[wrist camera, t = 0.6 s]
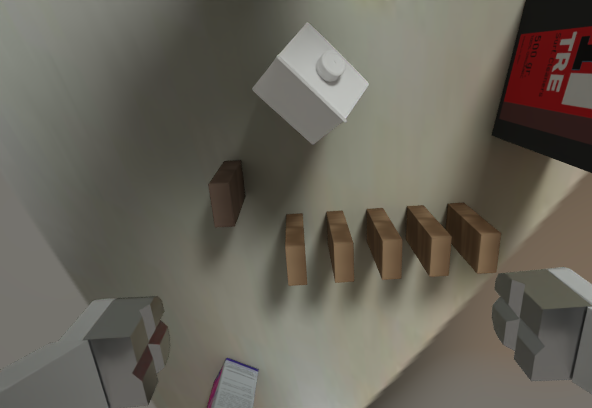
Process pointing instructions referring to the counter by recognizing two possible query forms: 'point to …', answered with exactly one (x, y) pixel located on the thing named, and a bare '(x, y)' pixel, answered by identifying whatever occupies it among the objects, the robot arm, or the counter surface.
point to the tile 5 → (428, 241)
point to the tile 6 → (473, 237)
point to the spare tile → (227, 193)
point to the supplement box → (234, 386)
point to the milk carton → (311, 85)
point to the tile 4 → (384, 244)
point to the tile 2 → (295, 250)
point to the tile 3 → (340, 247)
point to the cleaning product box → (551, 83)
